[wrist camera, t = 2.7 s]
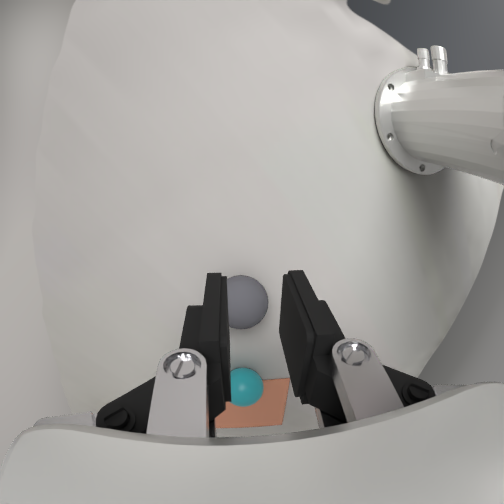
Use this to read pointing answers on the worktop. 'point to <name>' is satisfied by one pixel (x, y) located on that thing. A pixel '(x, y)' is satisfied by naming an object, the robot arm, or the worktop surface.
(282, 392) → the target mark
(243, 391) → the object ball
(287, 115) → the worktop surface
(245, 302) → the grey ball
